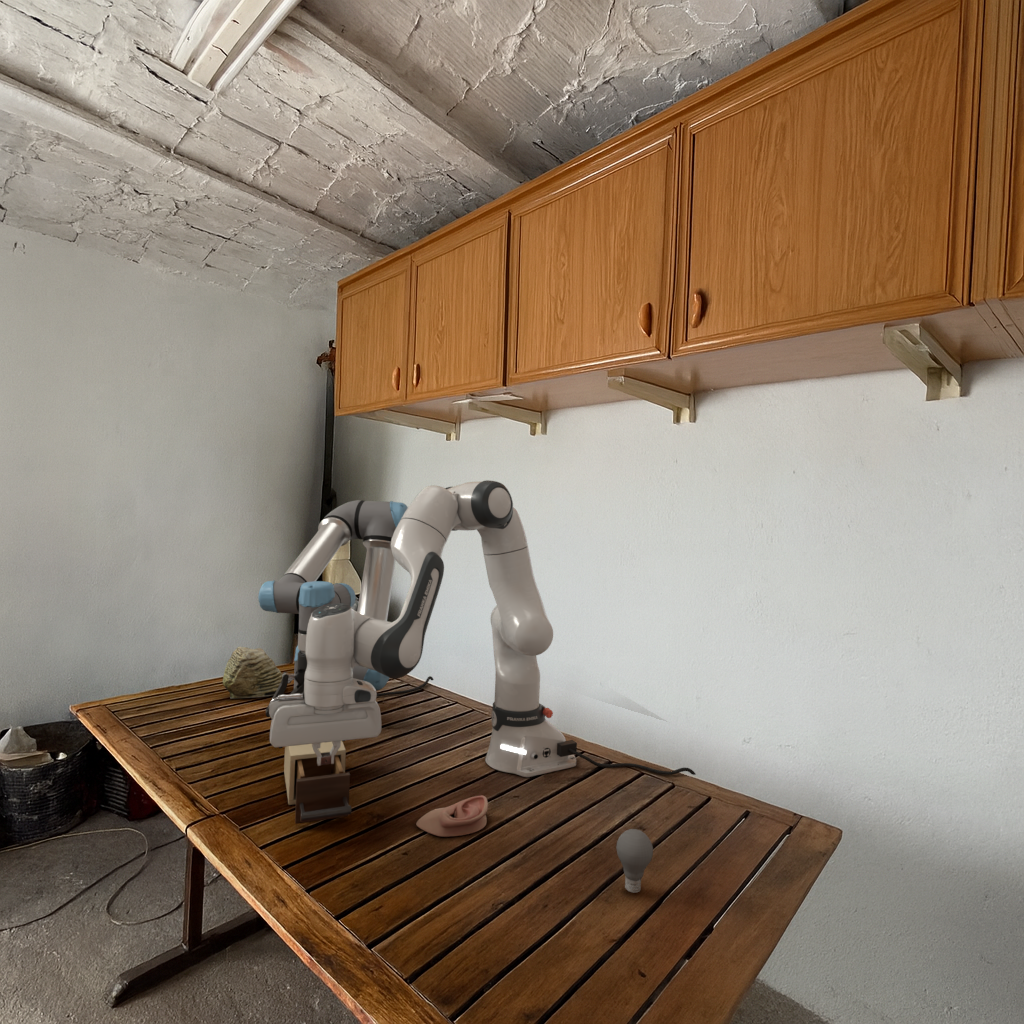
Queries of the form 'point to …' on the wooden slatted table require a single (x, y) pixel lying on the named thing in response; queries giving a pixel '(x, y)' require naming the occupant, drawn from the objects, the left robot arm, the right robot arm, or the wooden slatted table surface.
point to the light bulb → (634, 857)
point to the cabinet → (304, 753)
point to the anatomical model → (456, 818)
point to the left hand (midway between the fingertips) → (312, 742)
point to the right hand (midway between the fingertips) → (325, 763)
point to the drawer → (320, 790)
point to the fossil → (251, 674)
